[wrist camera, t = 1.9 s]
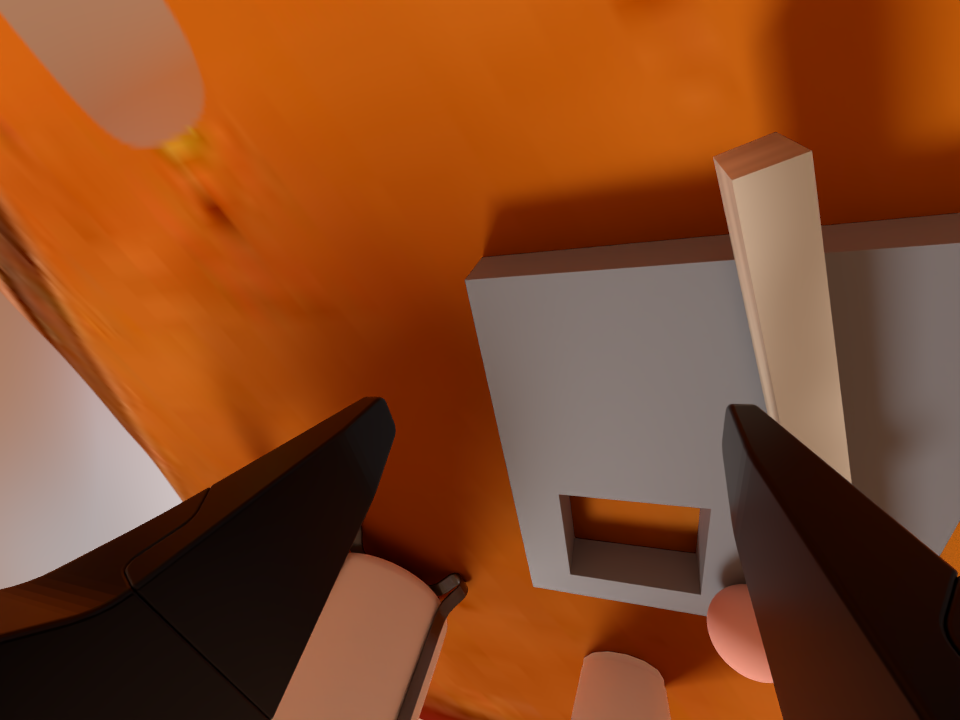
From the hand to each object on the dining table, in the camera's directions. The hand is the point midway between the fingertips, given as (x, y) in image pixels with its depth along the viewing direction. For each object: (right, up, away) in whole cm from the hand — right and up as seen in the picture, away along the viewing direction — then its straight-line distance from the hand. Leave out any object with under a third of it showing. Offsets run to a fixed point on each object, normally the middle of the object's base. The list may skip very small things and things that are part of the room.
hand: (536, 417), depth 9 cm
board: (+9, -3, +13) cm, 16 cm away
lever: (+11, -3, +8) cm, 14 cm away
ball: (+12, -12, +12) cm, 21 cm away
